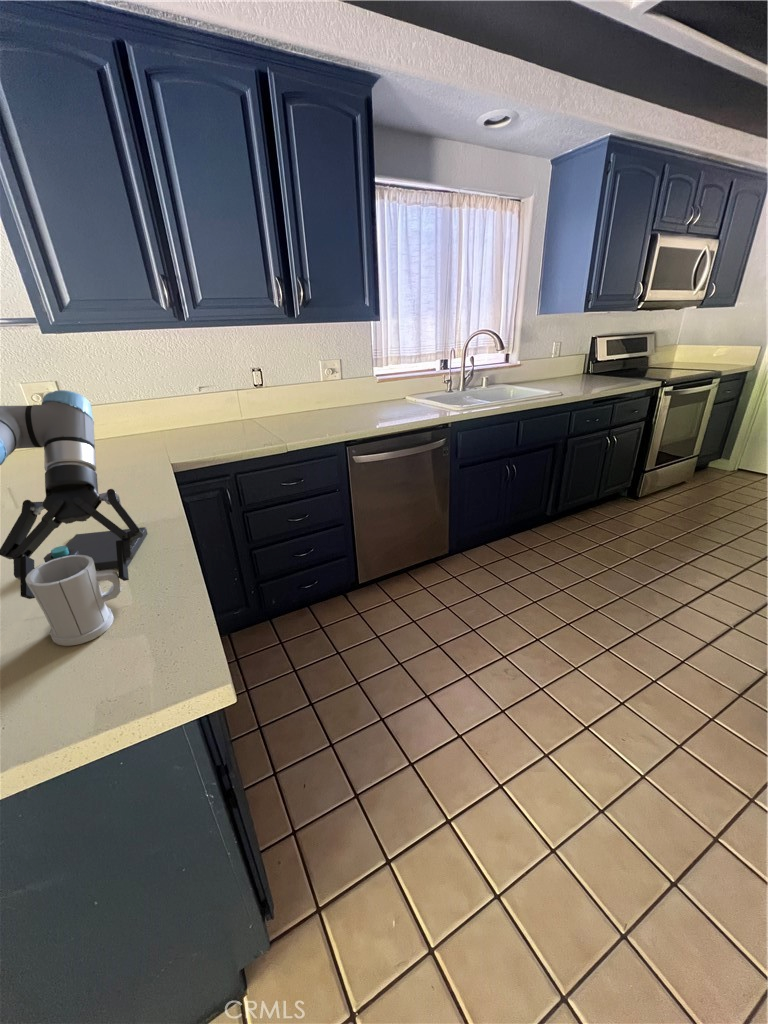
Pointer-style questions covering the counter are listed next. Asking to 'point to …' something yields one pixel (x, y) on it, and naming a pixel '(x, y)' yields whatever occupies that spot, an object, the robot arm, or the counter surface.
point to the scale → (100, 548)
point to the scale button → (59, 552)
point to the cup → (73, 598)
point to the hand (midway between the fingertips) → (77, 588)
